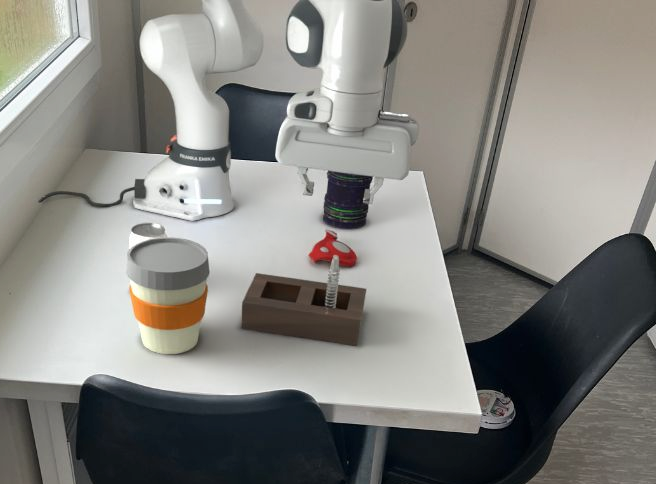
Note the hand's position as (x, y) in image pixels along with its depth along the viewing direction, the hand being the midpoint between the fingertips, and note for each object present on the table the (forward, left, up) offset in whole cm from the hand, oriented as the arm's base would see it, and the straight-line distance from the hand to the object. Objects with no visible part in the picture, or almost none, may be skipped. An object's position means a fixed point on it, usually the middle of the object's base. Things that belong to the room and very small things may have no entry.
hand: (337, 198), depth 113 cm
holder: (-3, -2, -22) cm, 22 cm away
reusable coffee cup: (-23, -14, -22) cm, 35 cm away
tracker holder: (-1, +25, -22) cm, 34 cm away
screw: (+1, -2, -22) cm, 22 cm away
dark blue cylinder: (-1, +44, -22) cm, 50 cm away
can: (-31, 0, -22) cm, 38 cm away
